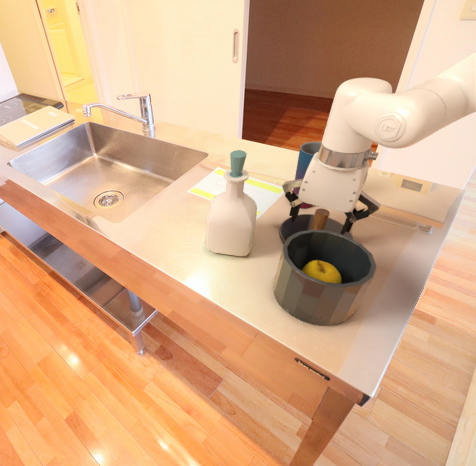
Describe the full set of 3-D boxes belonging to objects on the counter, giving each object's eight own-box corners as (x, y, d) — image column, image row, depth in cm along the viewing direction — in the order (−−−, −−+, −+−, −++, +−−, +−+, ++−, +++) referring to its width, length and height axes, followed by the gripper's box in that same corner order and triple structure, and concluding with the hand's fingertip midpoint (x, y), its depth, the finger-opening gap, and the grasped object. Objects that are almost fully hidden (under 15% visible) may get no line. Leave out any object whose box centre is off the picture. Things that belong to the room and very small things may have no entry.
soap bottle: (252, 232, 75) (267, 142, 60) (249, 261, 68) (265, 167, 54) (210, 227, 78) (215, 140, 63) (204, 254, 72) (207, 164, 57)
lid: (358, 229, 71) (369, 203, 67) (342, 269, 63) (354, 243, 59) (291, 211, 79) (297, 187, 74) (270, 245, 71) (275, 220, 66)
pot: (361, 286, 60) (382, 245, 53) (344, 339, 53) (366, 300, 46) (286, 260, 67) (297, 221, 60) (262, 303, 60) (271, 265, 53)
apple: (294, 278, 63) (303, 248, 58) (331, 284, 61) (344, 254, 55) (294, 303, 58) (305, 274, 53) (335, 311, 56) (349, 281, 51)
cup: (319, 198, 81) (336, 143, 72) (314, 213, 77) (332, 157, 68) (290, 193, 85) (303, 139, 75) (284, 207, 80) (297, 152, 71)
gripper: (404, 153, 55) (368, 228, 66) (298, 137, 65) (282, 205, 76) (397, 173, 51) (360, 250, 62) (285, 153, 61) (270, 222, 72)
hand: (317, 225), depth 69 cm, fingers open, 9 cm apart
